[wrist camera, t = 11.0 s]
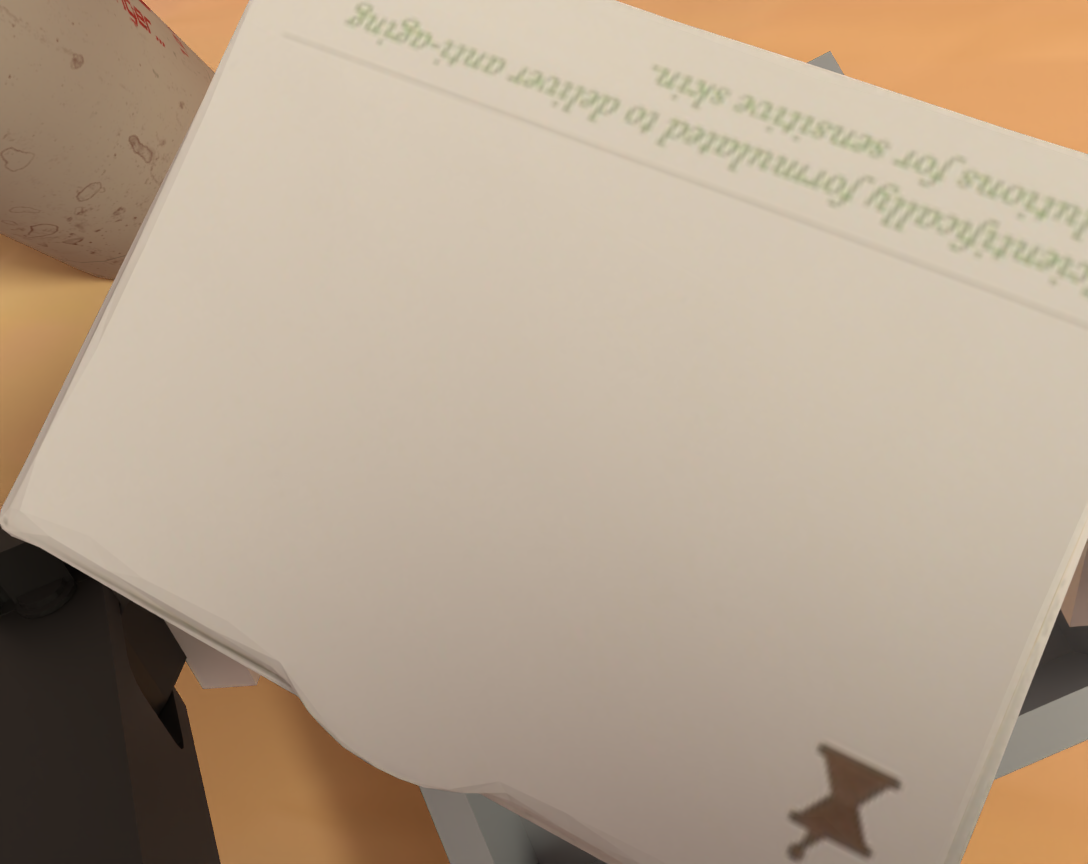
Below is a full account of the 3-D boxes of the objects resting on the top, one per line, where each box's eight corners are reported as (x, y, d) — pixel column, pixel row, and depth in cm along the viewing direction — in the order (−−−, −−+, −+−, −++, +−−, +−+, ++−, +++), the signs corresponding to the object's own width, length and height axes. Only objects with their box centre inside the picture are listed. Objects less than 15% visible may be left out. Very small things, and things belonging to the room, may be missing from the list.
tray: (1118, 667, 25) (1202, 690, 21) (534, 922, 26) (502, 991, 22) (811, 127, 28) (830, 50, 24) (308, 383, 30) (242, 353, 25)
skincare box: (885, 449, 22) (1326, 178, 6) (767, 716, 21) (941, 1094, 6) (557, 311, 23) (294, -161, 8) (442, 556, 23) (-58, 539, 8)
